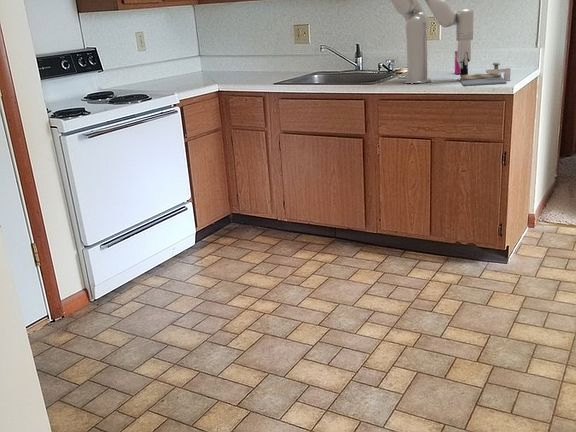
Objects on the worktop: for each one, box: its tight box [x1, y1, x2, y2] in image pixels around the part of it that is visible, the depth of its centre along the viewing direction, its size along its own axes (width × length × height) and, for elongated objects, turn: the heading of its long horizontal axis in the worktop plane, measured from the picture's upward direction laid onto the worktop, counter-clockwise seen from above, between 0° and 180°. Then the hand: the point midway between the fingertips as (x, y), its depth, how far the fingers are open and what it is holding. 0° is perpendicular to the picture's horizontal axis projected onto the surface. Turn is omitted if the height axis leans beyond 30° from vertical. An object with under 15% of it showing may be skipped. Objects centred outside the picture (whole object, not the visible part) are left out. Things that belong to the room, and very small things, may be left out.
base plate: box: [459, 76, 507, 87], centre depth 284 cm, size 18×20×1 cm
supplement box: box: [454, 50, 461, 76], centre depth 314 cm, size 6×6×12 cm
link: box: [460, 62, 502, 80], centre depth 288 cm, size 18×4×6 cm, turn 88°
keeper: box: [485, 67, 511, 82], centre depth 282 cm, size 10×2×5 cm, turn 79°
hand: (464, 76), depth 292 cm, fingers closed
